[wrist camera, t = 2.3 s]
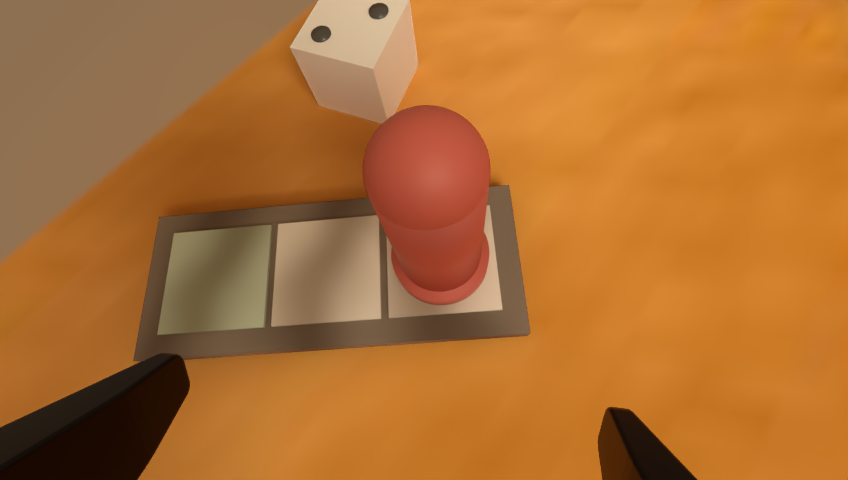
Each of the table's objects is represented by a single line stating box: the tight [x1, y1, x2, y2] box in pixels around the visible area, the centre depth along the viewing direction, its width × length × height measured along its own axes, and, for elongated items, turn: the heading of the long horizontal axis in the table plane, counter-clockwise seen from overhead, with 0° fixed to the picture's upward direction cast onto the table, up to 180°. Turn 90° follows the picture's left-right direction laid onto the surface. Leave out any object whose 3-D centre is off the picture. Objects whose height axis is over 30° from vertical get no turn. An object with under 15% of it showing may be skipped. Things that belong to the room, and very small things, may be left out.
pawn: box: [363, 105, 490, 305], centre depth 17 cm, size 5×5×11 cm
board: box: [133, 185, 530, 362], centre depth 23 cm, size 20×8×1 cm, turn 93°
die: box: [290, 0, 418, 124], centre depth 25 cm, size 5×5×5 cm
